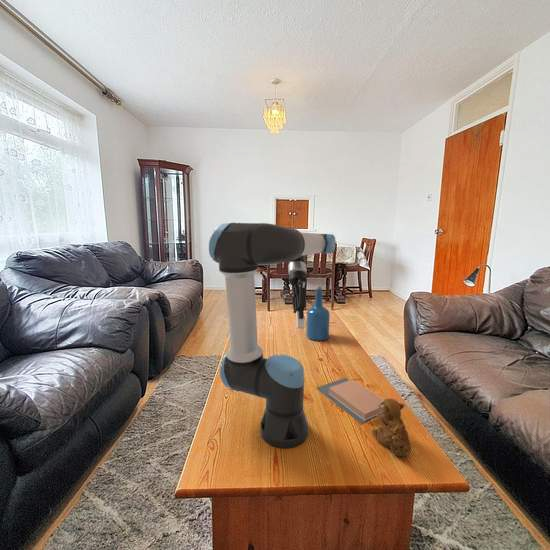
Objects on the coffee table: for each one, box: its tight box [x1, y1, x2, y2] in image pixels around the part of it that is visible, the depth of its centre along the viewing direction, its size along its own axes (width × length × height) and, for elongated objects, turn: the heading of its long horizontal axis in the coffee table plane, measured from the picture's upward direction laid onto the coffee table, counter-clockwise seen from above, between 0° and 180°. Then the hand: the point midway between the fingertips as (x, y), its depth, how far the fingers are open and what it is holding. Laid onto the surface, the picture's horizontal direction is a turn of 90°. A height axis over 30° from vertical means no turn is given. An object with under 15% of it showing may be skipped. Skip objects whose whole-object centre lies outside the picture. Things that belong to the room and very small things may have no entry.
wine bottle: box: [305, 285, 331, 342], centre depth 166 cm, size 14×13×30 cm
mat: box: [315, 377, 384, 425], centre depth 109 cm, size 24×16×1 cm, turn 30°
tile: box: [329, 379, 385, 421], centre depth 106 cm, size 2×12×18 cm
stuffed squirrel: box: [371, 397, 412, 457], centre depth 85 cm, size 10×14×13 cm
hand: (300, 327), depth 111 cm, fingers closed
